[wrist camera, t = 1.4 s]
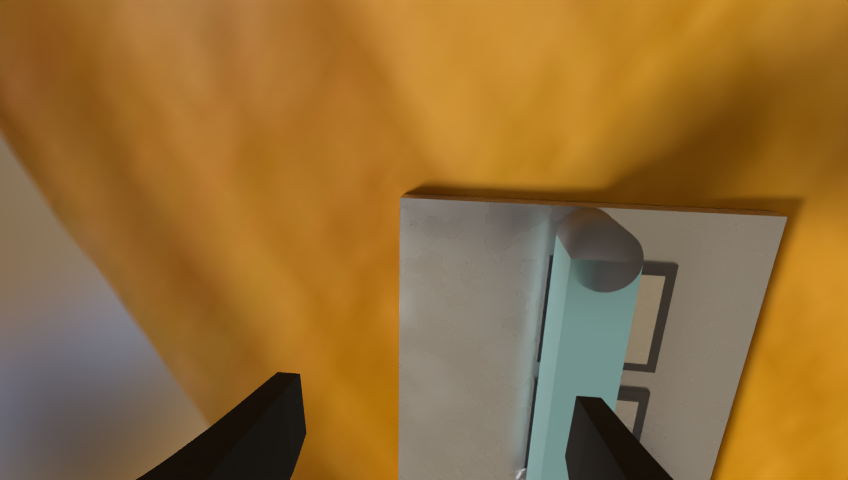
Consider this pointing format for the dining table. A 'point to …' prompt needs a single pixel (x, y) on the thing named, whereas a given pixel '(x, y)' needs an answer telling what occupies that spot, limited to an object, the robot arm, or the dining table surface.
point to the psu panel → (525, 322)
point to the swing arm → (582, 329)
